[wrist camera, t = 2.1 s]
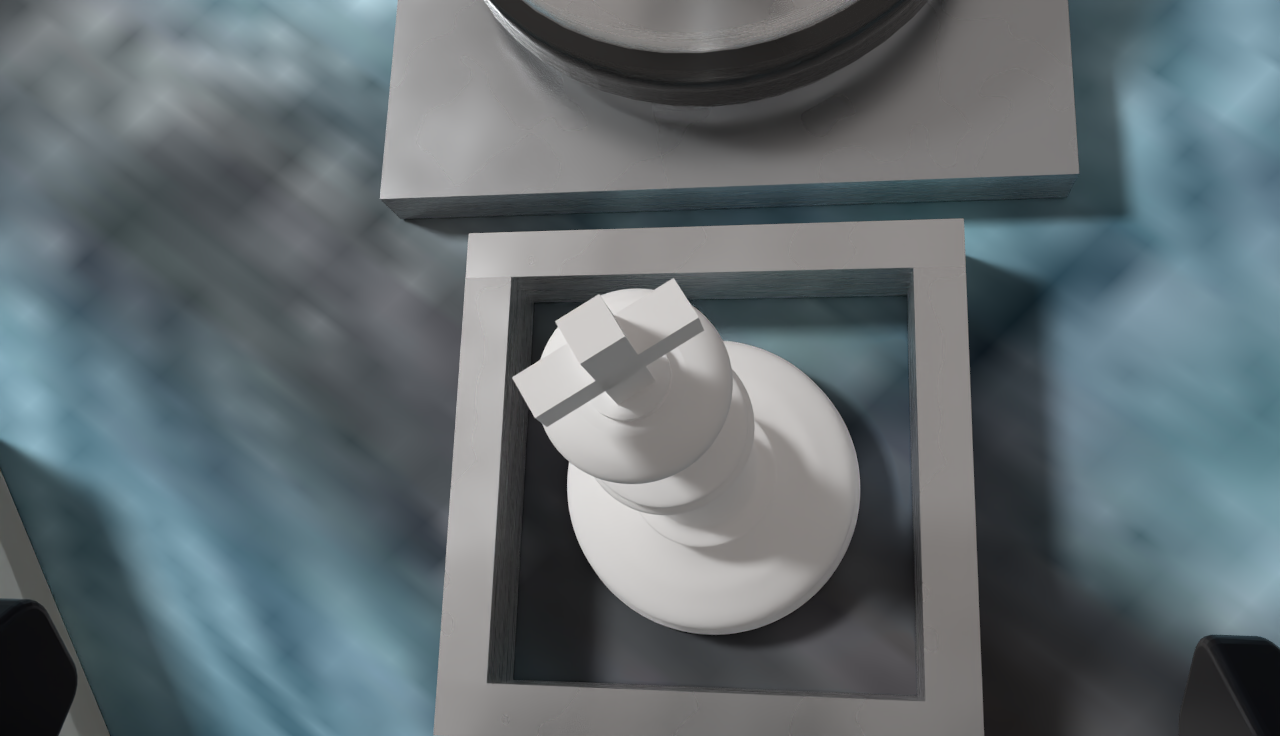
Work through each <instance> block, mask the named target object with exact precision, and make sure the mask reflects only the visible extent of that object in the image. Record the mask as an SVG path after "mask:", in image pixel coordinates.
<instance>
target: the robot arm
mask: <svg viewBox="0 0 1280 736" xmlns="http://www.w3.org/2000/svg"><path fill="white" fill-rule="evenodd" d="M77 683H78V675H77V669H76V666H75V663H74V661H73V659H72V657H71V655H70V654H69V652H68V650H67V648H66V646H65V644H64V642H63V640H62V638H61V636H60V635H59V633H58V631H57V629H56V627H55V625H54V623H53V621H52V619H51V617H50V615H49V614H48V612H47V610H46V609H45V608H44V606H43V605H41V604H40V603H38V602H37V601H34V600H31V599H6V598H0V736H59V734H60V731H61V729H62V726H63V724H64V722H65V719H66V717H67V715H68V712H69V710H70V707H71V705H72V703H73V700H74V697H75V694H76V690H77ZM1179 736H1280V648H1279V647H1278V646H1277V645H1275V644H1274V643H1273V642H1271V641H1269V640H1267V639H1265V638H1262V637H1258V636H1234V635H1209V636H1205V637H1203V638H1202V639H1201V640H1200V641H1199V643H1198V644H1197V646H1196V649H1195V652H1194V656H1193V660H1192V664H1191V668H1190V673H1189V677H1188V681H1187V685H1186V689H1185V693H1184V698H1183V702H1182V706H1181V710H1180V716H1179Z"/></svg>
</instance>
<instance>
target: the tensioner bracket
mask: <svg viewBox="0 0 1280 736" xmlns="http://www.w3.org/2000/svg"><path fill="white" fill-rule="evenodd" d="M1078 175H1079V162H1078V147H1077V132H1076V117H1075V101H1074V86H1073V71H1072V56H1071V41H1070V25H1069V10H1068V0H398V5H397V16H396V27H395V38H394V49H393V60H392V71H391V82H390V93H389V104H388V115H387V126H386V137H385V148H384V159H383V170H382V181H381V192H380V200H381V201H382V202H384V203H385V204H386V205H387V206H388V207H389V208H390V209H391V210H392V211H393V212H394V213H395V214H396V215H397V216H398V217H399V218H400V219H417V218H447V217H478V216H508V215H539V214H569V213H600V212H630V211H661V210H691V209H721V208H752V207H782V206H813V205H843V204H874V203H904V202H935V201H965V200H995V199H1026V198H1056V197H1067V195H1068V193H1069V192H1070V190H1071V188H1072V186H1073V184H1074V182H1075V181H1076V179H1077V177H1078ZM672 278H674V279H675V281H676V282H677V284H678V285H679V287H680V289H681V290H682V292H683V293H684V295H685V296H686V298H687V300H691V299H744V298H797V297H849V296H902V295H907V317H908V355H909V393H910V431H911V469H912V507H913V545H914V583H915V621H916V659H917V696H909V695H885V694H860V693H835V692H811V691H786V690H761V689H736V688H712V687H687V686H662V685H638V684H613V683H588V682H563V681H539V680H514V679H513V676H514V658H515V640H516V622H517V604H518V586H519V567H520V549H521V531H522V513H523V495H524V477H525V459H526V440H527V422H528V405H527V403H526V402H525V400H524V398H523V396H522V394H521V393H520V391H519V389H518V387H517V386H516V384H515V382H514V380H513V379H512V377H513V376H515V375H517V374H518V373H520V372H522V371H523V370H525V369H526V368H528V367H530V366H531V350H532V331H533V313H534V302H586V301H588V300H590V299H592V298H593V297H595V296H597V295H598V294H600V296H601V295H603V294H606V293H609V292H613V291H617V290H623V289H636V288H639V289H651V290H655V289H656V288H658V287H659V286H661V285H663V284H664V283H666V282H668V281H669V280H671V279H672ZM434 735H440V736H984V719H983V694H982V669H981V643H980V618H979V592H978V567H977V542H976V516H975V491H974V465H973V440H972V415H971V389H970V364H969V338H968V313H967V288H966V262H965V237H964V218H961V219H928V220H895V221H862V222H828V223H795V224H762V225H729V226H696V227H663V228H630V229H597V230H564V231H531V232H497V233H469V238H468V252H467V266H466V281H465V295H464V309H463V323H462V337H461V352H460V366H459V380H458V394H457V408H456V423H455V437H454V451H453V465H452V479H451V494H450V508H449V522H448V536H447V550H446V565H445V579H444V593H443V607H442V621H441V636H440V650H439V664H438V678H437V692H436V707H435V721H434Z"/></svg>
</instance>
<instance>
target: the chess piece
mask: <svg viewBox="0 0 1280 736" xmlns="http://www.w3.org/2000/svg"><path fill="white" fill-rule="evenodd" d="M555 322H556V324H557V326H558V327H557V329H556V330H555V331H554V333H553V334H552V336H551V337H550V339H549V341H548V343H547V345H546V347H545V349H544V351H543V354H542V356H541V359H540V360H539V361H538V362H536V363H535V364H533V365H531V366H530V367H528V368H526V369H525V370H523V371H522V372H520V373H518V374H517V375H515V376H513V377H512V379H513V380H514V382H515V384H516V386H517V387H518V389H519V391H520V393H521V394H522V396H523V398H524V400H525V402H526V403H527V405H528V407H529V409H530V410H531V412H532V414H533V416H534V417H535V419H537V420H538V421H539V422H541V423H542V425H543V427H544V429H545V431H546V433H547V435H548V437H549V439H550V440H551V442H552V443H553V445H554V446H555V447H556V449H557V450H558V451H559V452H560V453H561V454H562V455H563V456H564V457H565V458H566V459H567V460H568V461H569V466H568V475H567V497H568V506H569V512H570V517H571V521H572V525H573V528H574V532H575V534H576V537H577V540H578V542H579V544H580V547H581V549H582V551H583V553H584V555H585V556H586V558H587V560H588V562H589V563H590V565H591V566H592V568H593V569H594V571H595V572H596V574H597V575H598V577H599V578H600V579H601V580H602V582H603V583H604V584H605V585H606V586H607V588H608V589H609V590H610V591H611V592H612V593H613V594H614V595H615V596H616V597H618V598H619V599H620V600H621V601H622V602H623V603H625V604H626V605H627V606H629V607H630V608H631V609H633V610H634V611H636V612H637V613H639V614H641V615H642V616H644V617H646V618H648V619H650V620H652V621H654V622H656V623H659V624H661V625H664V626H666V627H669V628H672V629H676V630H680V631H684V632H689V633H696V634H707V635H722V634H733V633H739V632H745V631H749V630H753V629H756V628H760V627H762V626H765V625H768V624H770V623H773V622H775V621H777V620H779V619H781V618H783V617H785V616H787V615H788V614H790V613H792V612H793V611H795V610H796V609H798V608H799V607H800V606H802V605H803V604H804V603H806V602H807V601H808V600H809V599H810V598H812V597H813V596H814V595H815V594H816V593H817V592H818V591H819V590H820V589H821V588H822V587H823V586H824V584H825V583H826V582H827V581H828V580H829V578H830V577H831V576H832V574H833V573H834V572H835V570H836V569H837V567H838V565H839V564H840V562H841V560H842V559H843V557H844V555H845V553H846V551H847V548H848V546H849V544H850V541H851V539H852V536H853V533H854V529H855V526H856V522H857V517H858V512H859V504H860V473H859V465H858V460H857V455H856V451H855V448H854V444H853V441H852V439H851V436H850V433H849V431H848V429H847V427H846V425H845V423H844V421H843V419H842V417H841V415H840V414H839V412H838V410H837V409H836V407H835V406H834V405H833V403H832V402H831V400H830V399H829V398H828V397H827V396H826V394H825V393H824V392H823V391H822V390H821V389H820V388H819V387H818V386H817V385H816V384H815V383H814V382H813V381H812V380H811V379H810V378H809V377H808V376H807V375H806V374H805V373H803V372H802V371H801V370H799V369H798V368H797V367H795V366H794V365H792V364H791V363H789V362H788V361H786V360H784V359H783V358H781V357H779V356H777V355H775V354H773V353H771V352H768V351H766V350H763V349H760V348H757V347H754V346H751V345H747V344H743V343H737V342H731V341H723V340H722V338H721V336H720V335H719V333H718V332H717V330H716V329H715V327H714V326H713V325H712V323H711V322H710V321H709V320H708V319H707V318H706V317H705V316H704V315H703V314H702V313H701V312H700V311H699V310H698V309H696V308H695V307H694V306H692V305H691V304H690V303H689V301H688V300H687V298H686V296H685V295H684V293H683V292H682V290H681V289H680V287H679V285H678V284H677V282H676V281H675V279H674V278H672V279H671V280H669V281H668V282H666V283H664V284H663V285H661V286H659V287H658V288H656V289H655V290H651V289H639V288H636V289H623V290H617V291H613V292H609V293H606V294H603V295H601V296H600V294H598V295H597V296H595V297H593V298H592V299H590V300H588V301H587V302H585V303H584V304H582V305H580V306H579V307H577V308H576V309H574V310H572V311H571V312H569V313H567V314H566V315H564V316H563V317H561V318H559V319H558V320H556V321H555Z"/></svg>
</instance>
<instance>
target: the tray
mask: <svg viewBox="0 0 1280 736" xmlns="http://www.w3.org/2000/svg"><path fill="white" fill-rule="evenodd" d="M0 598H6V599H31V600H34V601H37V602H38V603H40V604H41V605H43V606H44V608H45V609H46V610H47V612H48V614H49V615H50V617H51V619H52V621H53V623H54V625H55V627H56V629H57V631H58V633H59V635H60V636H61V638H62V640H63V642H64V644H65V646H66V648H67V650H68V652H69V654H70V655H71V657H72V659H73V661H74V663H75V666H76V669H77V675H78V683H77V690H76V694H75V697H74V700H73V703H72V705H71V707H70V710H69V712H68V715H67V717H66V719H65V722H64V724H63V726H62V729H61V731H60V734H59V736H110V734H109V731H108V729H107V727H106V724H105V722H104V719H103V717H102V715H101V712H100V710H99V707H98V705H97V702H96V700H95V698H94V695H93V693H92V690H91V688H90V685H89V683H88V681H87V678H86V676H85V673H84V671H83V668H82V666H81V664H80V661H79V659H78V656H77V654H76V652H75V649H74V647H73V644H72V642H71V639H70V637H69V635H68V632H67V630H66V627H65V625H64V622H63V620H62V618H61V615H60V613H59V610H58V608H57V606H56V603H55V601H54V598H53V596H52V593H51V591H50V589H49V586H48V584H47V581H46V579H45V576H44V574H43V572H42V569H41V567H40V564H39V562H38V559H37V557H36V555H35V552H34V550H33V547H32V545H31V543H30V540H29V538H28V535H27V533H26V530H25V528H24V526H23V523H22V521H21V518H20V516H19V513H18V511H17V509H16V506H15V504H14V501H13V499H12V497H11V494H10V492H9V489H8V487H7V484H6V482H5V480H4V477H3V475H2V472H1V470H0Z"/></svg>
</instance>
